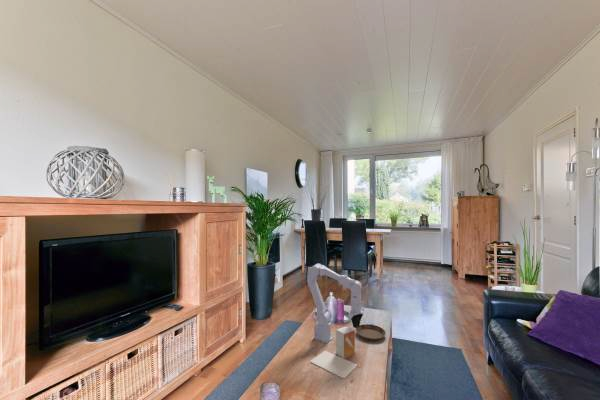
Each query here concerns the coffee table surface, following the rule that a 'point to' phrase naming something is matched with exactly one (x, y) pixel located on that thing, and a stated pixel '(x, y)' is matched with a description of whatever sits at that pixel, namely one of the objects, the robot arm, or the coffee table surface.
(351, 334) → the small box
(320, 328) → the robot arm
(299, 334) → the coffee table surface
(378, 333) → the plant saucer
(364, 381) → the coffee table surface
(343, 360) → the mat
